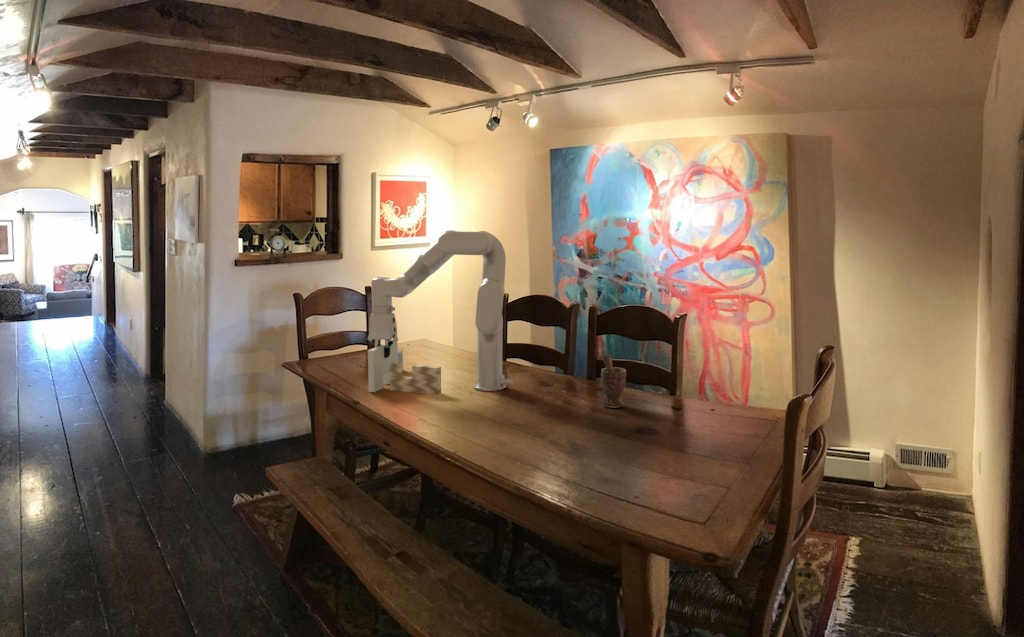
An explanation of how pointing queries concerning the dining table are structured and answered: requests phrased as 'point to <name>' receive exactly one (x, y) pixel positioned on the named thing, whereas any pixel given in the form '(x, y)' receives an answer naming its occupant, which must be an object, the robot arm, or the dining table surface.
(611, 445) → the dining table surface
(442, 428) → the dining table surface
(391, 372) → the maple board
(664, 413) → the dining table surface
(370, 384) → the sage plate
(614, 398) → the mortar and pestle
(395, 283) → the robot arm
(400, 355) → the medicine box
